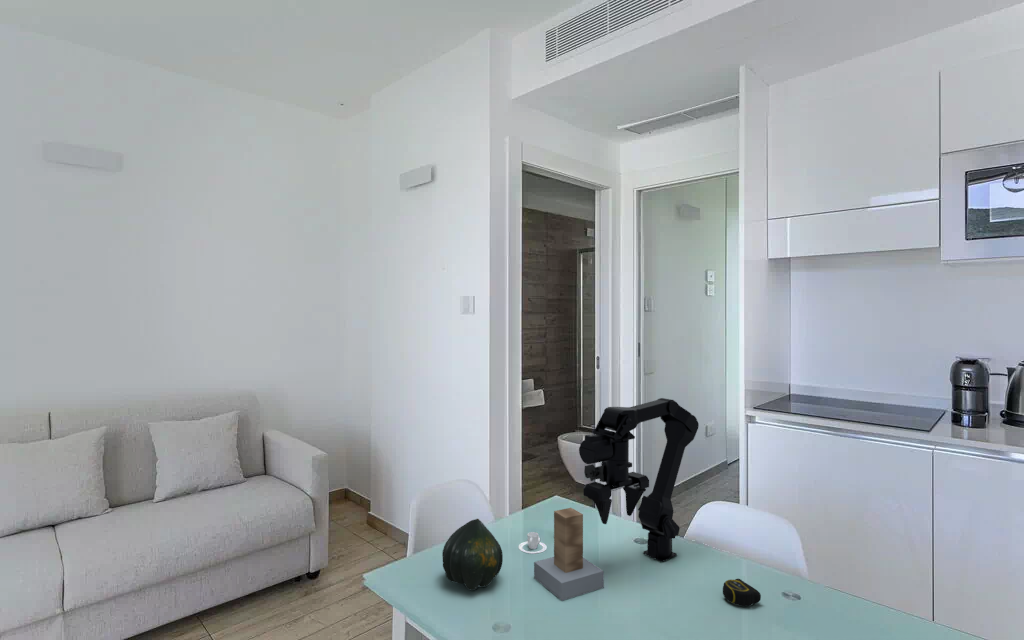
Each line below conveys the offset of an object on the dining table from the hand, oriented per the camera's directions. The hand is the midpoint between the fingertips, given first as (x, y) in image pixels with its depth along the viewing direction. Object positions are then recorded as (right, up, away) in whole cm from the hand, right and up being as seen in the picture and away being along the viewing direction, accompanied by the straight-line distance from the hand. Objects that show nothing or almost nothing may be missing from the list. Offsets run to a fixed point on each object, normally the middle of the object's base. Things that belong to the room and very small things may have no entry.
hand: (616, 519), depth 135 cm
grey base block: (-13, -13, -6) cm, 19 cm away
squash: (-36, -13, -5) cm, 39 cm away
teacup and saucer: (-18, -14, +15) cm, 27 cm away
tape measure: (+25, -14, -14) cm, 32 cm away
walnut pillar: (-13, -9, -6) cm, 17 cm away
